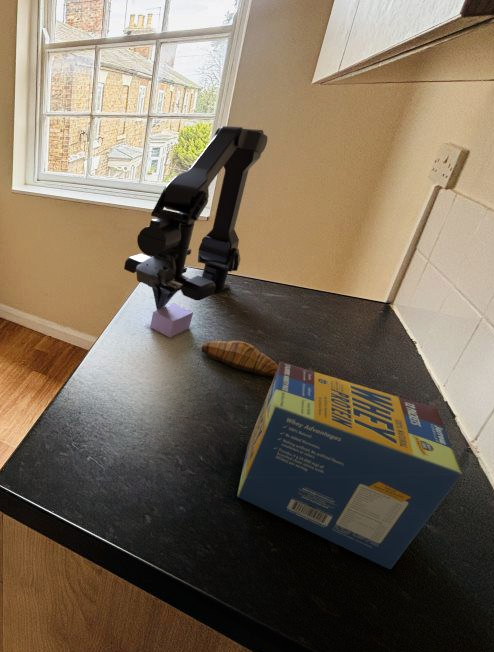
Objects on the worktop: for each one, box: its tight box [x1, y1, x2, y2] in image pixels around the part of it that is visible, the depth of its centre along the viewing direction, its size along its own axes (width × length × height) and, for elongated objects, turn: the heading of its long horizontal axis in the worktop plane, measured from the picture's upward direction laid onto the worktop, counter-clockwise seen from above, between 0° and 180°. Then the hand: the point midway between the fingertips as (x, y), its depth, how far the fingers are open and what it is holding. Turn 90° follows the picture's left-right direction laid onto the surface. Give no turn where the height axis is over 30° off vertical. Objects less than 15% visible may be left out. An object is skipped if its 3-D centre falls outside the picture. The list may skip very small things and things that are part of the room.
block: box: [149, 303, 194, 338], centre depth 88 cm, size 7×5×4 cm
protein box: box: [236, 361, 463, 570], centre depth 48 cm, size 10×15×16 cm
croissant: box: [201, 340, 279, 378], centre depth 76 cm, size 14×7×5 cm, turn 52°
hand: (159, 309), depth 90 cm, fingers closed
